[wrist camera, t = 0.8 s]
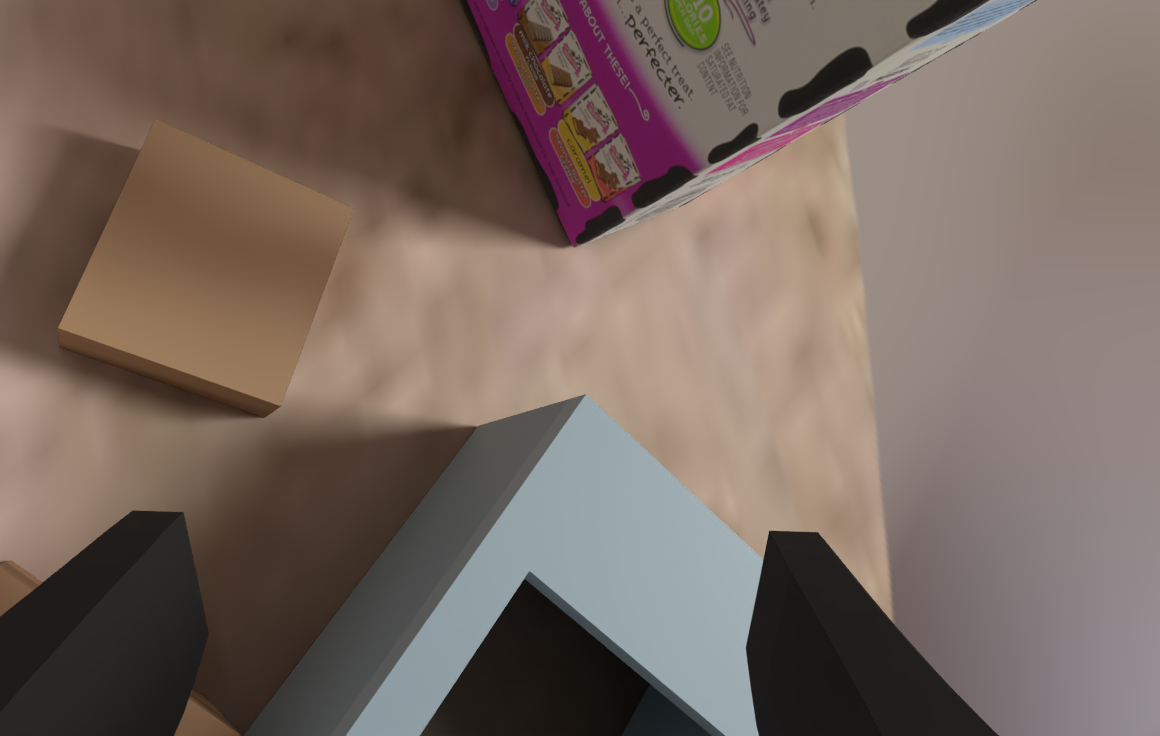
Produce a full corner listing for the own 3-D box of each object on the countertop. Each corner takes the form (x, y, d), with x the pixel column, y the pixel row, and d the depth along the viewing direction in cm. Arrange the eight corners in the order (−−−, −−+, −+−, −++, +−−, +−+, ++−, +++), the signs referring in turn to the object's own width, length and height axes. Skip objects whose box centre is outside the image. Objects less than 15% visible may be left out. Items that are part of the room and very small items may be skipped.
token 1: (262, 419, 24) (281, 405, 22) (59, 349, 22) (58, 328, 20) (330, 236, 26) (354, 208, 24) (148, 157, 24) (155, 118, 22)
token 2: (131, 794, 21) (147, 857, 17) (-82, 656, 20) (-124, 687, 15) (207, 698, 22) (240, 734, 18) (11, 560, 21) (-5, 564, 17)
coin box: (494, 1017, 24) (622, 1159, 19) (184, 814, 22) (224, 908, 16) (706, 627, 29) (856, 646, 24) (477, 426, 27) (586, 394, 21)
